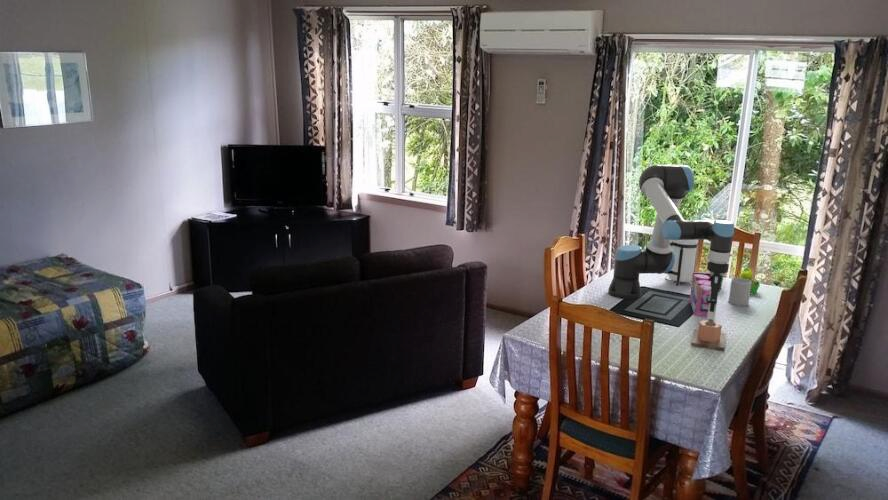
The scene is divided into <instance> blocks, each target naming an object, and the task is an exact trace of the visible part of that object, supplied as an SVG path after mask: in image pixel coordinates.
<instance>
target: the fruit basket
mask: <svg viewBox="0 0 888 500" xmlns="http://www.w3.org/2000/svg"><path fill="white" fill-rule="evenodd" d="M753 277H754V275H753V271H752V269H751V268H749V267H744V269H743V271H742V272H741V273H740V278H745V279H748V280H750V281H751V289H750V294H751V295H756V294H757V292H758V290H759V288H760V286H761V284H760V281H759V280H754V279H753Z"/></svg>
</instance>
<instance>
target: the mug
mask: <svg viewBox="0 0 888 500" xmlns="http://www.w3.org/2000/svg"><path fill="white" fill-rule="evenodd" d="M750 289H751V281H750V280H748V279H745V278H741V277H733V278H731V281H730V288H729V297H728V303H729V304H731V305H734V306H739V307H746V306H748V305H749V303H750V294H751V293H750Z"/></svg>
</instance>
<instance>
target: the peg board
mask: <svg viewBox="0 0 888 500" xmlns="http://www.w3.org/2000/svg"><path fill="white" fill-rule="evenodd" d="M707 320H708V323H707V325H710V326H713V324H714V321H715V319H714V320H713V319H707ZM691 337H692V338H691V343H690V346H691V347H698V348H704V349H709V350H710V349H711V350H716V351H722V352H725V349H726V348H725V347H726V333H722V332H721V336H720V340H718V341H716V342H709V341H703V340H701V339H700V338H699V337H698V328H696V329H695V328H693V331H692V336H691Z"/></svg>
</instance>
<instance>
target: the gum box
mask: <svg viewBox="0 0 888 500" xmlns="http://www.w3.org/2000/svg"><path fill="white" fill-rule="evenodd" d="M710 285H711V275H710V273H706V272H705V273H704V272H696V271H695V272H693V275H692V283H691V287H690V295H689V302H690V305H691V307H692V311H693V314H694V316H695V317H706V318H707V314H708V306H709V303H707V302H708V301H709V299H710V292H711V286H710Z"/></svg>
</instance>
